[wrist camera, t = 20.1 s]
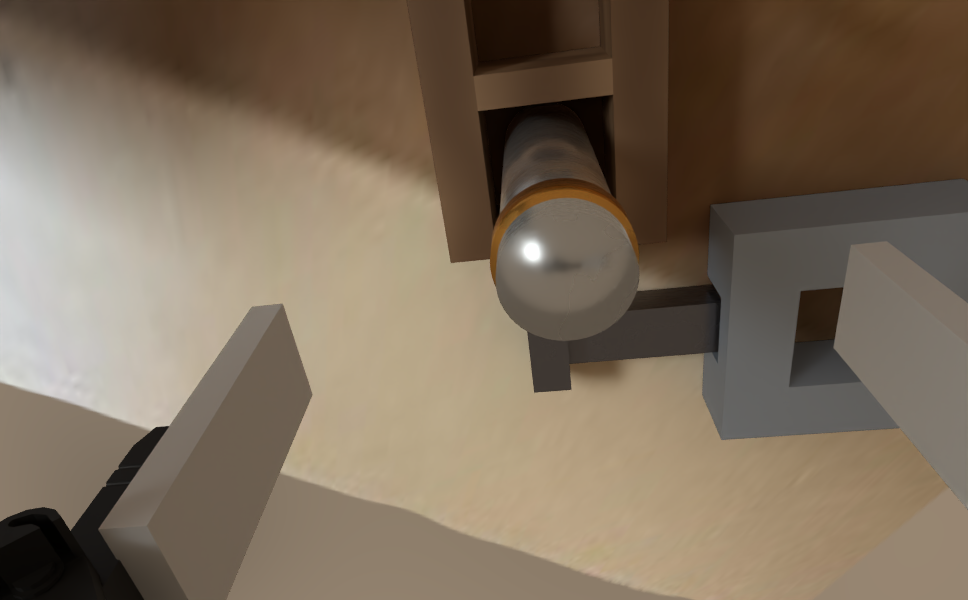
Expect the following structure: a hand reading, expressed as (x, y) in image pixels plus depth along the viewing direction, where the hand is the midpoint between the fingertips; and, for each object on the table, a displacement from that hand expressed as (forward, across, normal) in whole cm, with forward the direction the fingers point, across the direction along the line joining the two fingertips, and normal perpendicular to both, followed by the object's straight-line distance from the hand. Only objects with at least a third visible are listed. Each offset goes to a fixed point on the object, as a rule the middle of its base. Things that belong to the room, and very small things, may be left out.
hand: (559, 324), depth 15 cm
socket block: (+17, +15, -11) cm, 25 cm away
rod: (+18, +1, -1) cm, 18 cm away
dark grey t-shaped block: (+17, +4, -11) cm, 21 cm away
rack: (+18, +1, +3) cm, 18 cm away
